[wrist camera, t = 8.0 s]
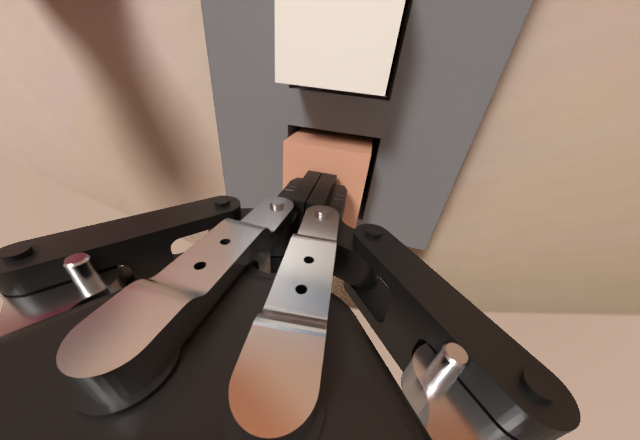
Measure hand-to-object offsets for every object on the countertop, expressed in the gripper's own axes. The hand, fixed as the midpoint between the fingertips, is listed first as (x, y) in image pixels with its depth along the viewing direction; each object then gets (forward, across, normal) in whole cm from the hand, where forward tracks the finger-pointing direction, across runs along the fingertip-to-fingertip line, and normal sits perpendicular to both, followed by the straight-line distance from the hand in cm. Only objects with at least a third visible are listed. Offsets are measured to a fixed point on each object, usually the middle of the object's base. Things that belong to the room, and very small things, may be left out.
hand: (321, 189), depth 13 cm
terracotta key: (+4, 0, 0) cm, 4 cm away
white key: (+3, 0, -7) cm, 8 cm away
